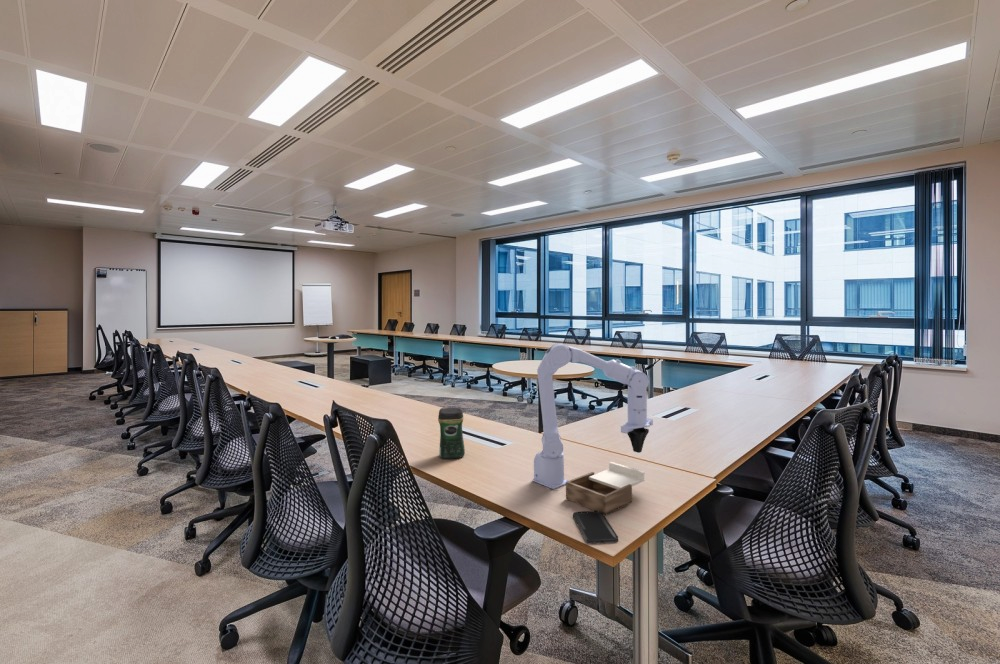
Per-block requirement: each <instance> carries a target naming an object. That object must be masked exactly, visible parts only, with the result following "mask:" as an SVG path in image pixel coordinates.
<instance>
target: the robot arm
mask: <svg viewBox="0 0 1000 664" xmlns="http://www.w3.org/2000/svg"><path fill="white" fill-rule="evenodd" d="M579 362H580V363H583V364H585V365H588V366H591V367H592V368H593V367H594V368H596V369H599V370H601V371H603V374H604V376H605V377H606V378H608V379H611V380H613V381H616V382H618V383H621V384H623V385H627V422H625V424H623V425H620V433H622V434H625V435H627V436H628V438H629V440H630V443H631V447H632V450H633V452H634V453H638V454H639V453H642V451H643V448H644V443H645V440H646V438H647V435H648V434H649V431H650V430H649V428H650V427H651V426H653V425H654V419H653V418H648V415H647V414H648V409H647V408H648V407H647V406H648V401H647V400H648V397H647V396H648V394H647V388H648V387H649V386H650V380H649V378H648V375H647V374H646V373H645V372H643V371H641V370H639V369H637V368H636V367H635V366H634V365H631V366H629V365H627V364H624V363H622V360H619V359H617V358H616V359H610V360H608V361H607V360H604V359H602V358H600V357H598V356H596V355H595V354H591V353H589V352H588V351H585V350H582V349H581V348H577V347H575V346H571V345H567V346H566V344H563V343H561V342H559V343H555V344H552V345H551V346H550V347H549V348H548V349H547V350H546V351H545V353H544V356H543V358H542V359H541V362H540V363H539V365H538V367H537V369H536V370H537V381H538V383H537V384H538V390H539V401H540V408H541V409H540V410H541V417H542V426H543V427H542V430H543V434H542V436H541V444H542V451H538V452H537V453H536V454H535V455H534V458H533V478H532V479H531V480H532V481H533V482H535V483H538V484H539V485H542V486H544V487H547V488H549V489H553V490H554V489H557V488H560V487H561V486H566V482H567V481H569V480H568V479H566V478H565V462H564V461H565V456H564V455H565V453H564V444H563V442H562V437H561V435H560V434H559V433H560V432H559V428H558V419H557V417H558V416H557V410H556V401H555V399H556V398H555V389H554V380H553V375H554V374H555V373H557V372H558V370H559V369H561V368H563V367H565V366H566V365H568V364H569V363H572V364H575V363H579Z"/></svg>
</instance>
